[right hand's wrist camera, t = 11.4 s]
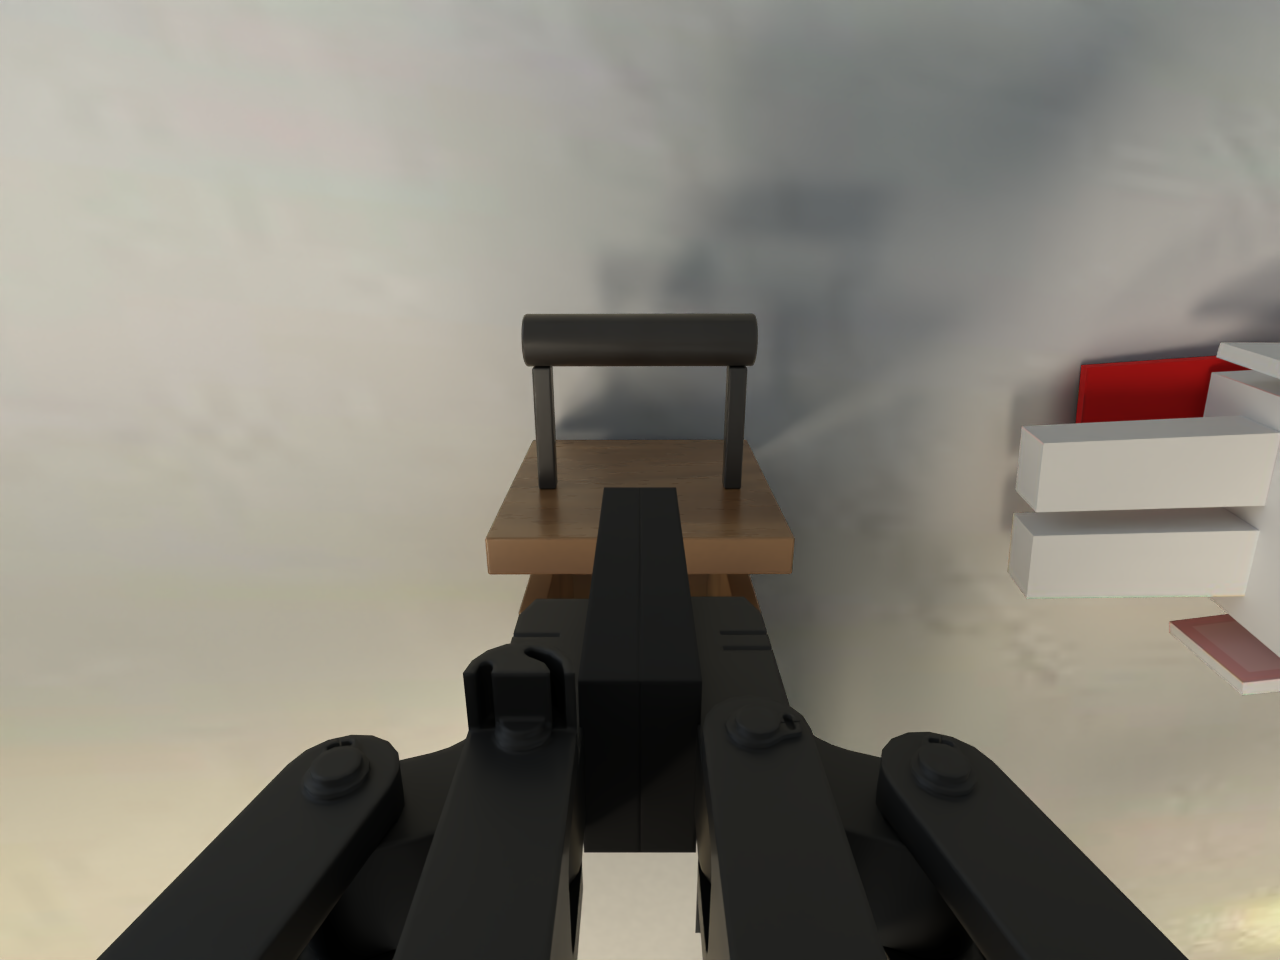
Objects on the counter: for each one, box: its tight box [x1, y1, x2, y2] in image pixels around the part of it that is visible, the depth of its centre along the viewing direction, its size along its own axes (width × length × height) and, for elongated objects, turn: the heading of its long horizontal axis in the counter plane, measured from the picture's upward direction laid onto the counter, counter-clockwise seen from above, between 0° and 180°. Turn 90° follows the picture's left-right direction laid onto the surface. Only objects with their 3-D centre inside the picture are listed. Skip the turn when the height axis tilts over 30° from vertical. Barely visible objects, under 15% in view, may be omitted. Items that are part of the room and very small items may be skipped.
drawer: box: [485, 314, 795, 615], centre depth 27 cm, size 24×9×10 cm, turn 0°
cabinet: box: [577, 840, 703, 960], centre depth 32 cm, size 20×10×12 cm, turn 0°
